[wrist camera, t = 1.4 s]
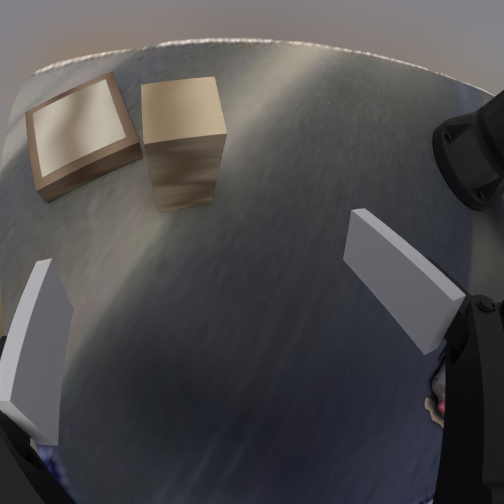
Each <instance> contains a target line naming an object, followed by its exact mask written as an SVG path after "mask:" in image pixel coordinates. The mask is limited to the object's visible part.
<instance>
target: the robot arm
mask: <svg viewBox="0 0 504 504" xmlns="http://www.w3.org/2000/svg"><path fill="white" fill-rule="evenodd" d="M433 147H434V152H435V156H436V159H437V162H438V165H439V167H440V169H441V171H442V173H443V175H444V177H445V179H446V181H447V182H448V184H449V186H450V187H451V188H452V190H453V191H454V192H455V194H456V195H457V196H458V197H459V198H460V199H461V200H462V201H463V202H464V203H465V204H466V205H468V206H469V207H471V208H473V209H475V210H484V209H486V208H488V207H490V206H492V205H494V204H495V203H496V202H497V201H498V200H499V199H500V198H501V197H502V196H503V195H504V90H503V91H502V92H501V93H499V94H498V95H497V96H495V97H494V98H493V99H491V100H490V101H489V102H487V103H486V104H485V105H484V106H482V107H481V108H480V109H479V110H477V111H476V112H473V113H469V114H466V115H462V116H458V117H455V118H451V119H448V120H446V121H445V122H443V123H442V124H441V125H440V126H438V127H437V128H436V130H435V132H434V135H433ZM343 260H344V261H345V262H346V263H347V264H348V266H349V267H350V268H351V269H352V270H353V271H354V272H355V273H356V274H357V276H358V277H359V278H360V279H361V280H362V281H363V282H364V283H365V285H366V286H367V287H368V288H369V289H370V290H371V291H372V293H373V294H374V295H375V296H376V297H377V298H378V300H379V301H380V302H381V303H382V304H383V305H384V307H385V308H386V309H387V310H388V311H389V312H390V314H391V315H392V316H393V317H394V318H395V320H396V321H397V322H398V323H399V324H400V326H401V327H402V328H403V329H404V330H405V332H406V333H407V334H408V335H409V336H410V338H411V339H412V340H413V341H414V343H415V344H416V345H417V346H418V348H419V349H420V350H421V351H422V353H423V354H424V355H426V354H428V353H430V352H432V351H433V350H435V349H437V348H438V347H439V345H440V343H441V341H442V340H443V338H445V339H446V341H447V344H446V346H445V347H444V349H443V351H442V352H441V354H440V356H439V357H438V361H437V362H440V361H441V359H442V358H443V356H445V360H444V361H443V363H445V411H444V427H443V438H442V448H441V457H440V464H439V471H438V477H437V483H436V489H435V494H434V499H433V503H432V504H504V300H503V302H501V303H494V302H493V301H492V300H491V299H489V298H488V297H486V296H483V295H474V296H471V295H470V294H469V293H468V292H467V291H466V290H465V289H464V288H463V287H462V286H461V285H460V284H459V283H458V282H456V281H455V280H454V279H453V278H452V277H451V276H449V275H448V273H447V272H446V271H444V270H442V268H441V267H440V266H439V265H438V264H437V263H435V262H434V261H433V260H431V259H429V258H427V257H425V256H423V255H421V254H420V253H419V252H418V251H417V250H416V249H414V248H413V247H412V246H411V245H410V244H409V243H407V242H406V241H405V240H404V239H403V238H401V237H400V236H399V235H398V234H396V233H395V232H394V231H393V230H392V229H390V228H389V227H388V226H387V225H385V224H384V223H383V222H382V221H380V220H379V219H378V218H376V217H375V216H374V215H373V214H371V213H370V212H369V211H367V210H366V209H365V208H363V209H355V210H351V216H350V223H349V229H348V235H347V241H346V246H345V252H344V257H343ZM72 314H73V307H72V305H71V303H70V301H69V298H68V296H67V294H66V292H65V289H64V287H63V285H62V282H61V280H60V278H59V275H58V273H57V270H56V268H55V265H54V263H53V260H52V259H47V260H42V261H37V262H36V264H35V267H34V269H33V271H32V273H31V276H30V278H29V280H28V283H27V285H26V287H25V290H24V292H23V295H22V297H21V300H20V302H19V305H18V308H17V310H16V313H15V316H14V319H13V321H12V324H11V327H10V330H9V333H8V336H2V337H1V339H0V504H76V503H75V502H74V500H73V499H72V498H71V497H70V496H69V495H68V493H67V492H66V491H65V490H64V489H63V487H62V486H61V485H60V484H59V482H58V481H57V480H56V479H55V477H54V476H53V475H52V474H51V472H50V471H49V470H48V468H47V467H46V465H45V464H44V463H43V461H42V460H41V459H40V457H39V456H38V454H37V453H36V451H35V450H34V449H33V448H32V447H31V446H30V437H31V438H32V439H33V440H35V441H36V442H37V443H38V444H40V445H58V429H59V410H60V397H61V387H62V377H63V369H64V361H65V354H66V348H67V341H68V335H69V330H70V324H71V319H72Z"/></svg>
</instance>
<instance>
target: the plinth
mask: <svg viewBox="0 0 504 504" xmlns="http://www.w3.org/2000/svg"><path fill="white" fill-rule="evenodd" d="M25 116H26V127H27V136H28V145H29V152H30V159H31V165H32V172H33V177H34V183H35V188H36V192H37V193H38V194H39V195H40V196H41V197H42V198H43V199H44V200H46V201H47V202H48V203H49V202H50V201H52V200H54V199H56V198H58V197H60V196H62V195H64V194H66V193H67V192H69V191H71V190H73V189H75V188H77V187H79V186H81V185H83V184H85V183H87V182H89V181H92V180H94V179H96V178H98V177H100V176H102V175H104V174H106V173H109V172H111V171H113V170H115V169H117V168H120V167H122V166H124V165H127V164H129V163H131V162H134V161H136V160H138V159H141V158H143V156H142V152H141V148H140V143H139V140H138V138H137V135H136V133H135V130H134V128H133V125H132V122H131V120H130V117H129V115H128V112H127V109H126V107H125V104H124V102H123V99H122V96H121V93H120V91H119V88H118V85H117V83H116V80H115V77H114V74H113V72H111V73H108V74H105V75H103V76H100V77H98V78H95V79H93V80H91V81H88V82H86V83H84V84H81V85H79V86H77V87H75V88H72V89H70V90H68V91H66V92H64V93H62V94H60V95H58V96H56V97H53V98H52V99H50V100H48V101H46V102H44V103H42V104H40V105H38V106H36V107H34V108H33V109H31V110H29V111H27V112H25Z"/></svg>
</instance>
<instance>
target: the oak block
mask: <svg viewBox="0 0 504 504" xmlns="http://www.w3.org/2000/svg"><path fill="white" fill-rule="evenodd" d="M141 94H142V120H143V137H144V147H145V152H146V156H147V161H148V166H149V170H150V174H151V179H152V183H153V187H154V192H155V196H156V200H157V204H158V208H159V212H165V211H171V210H177V209H183V208H189V207H196V206H202V205H209V204H212V199H213V195H214V190H215V185H216V180H217V176H218V171H219V167H220V162H221V158H222V153H223V149H224V144H225V140H226V136H227V131H226V126H225V122H224V117H223V113H222V109H221V104H220V100H219V95H218V91H217V86H216V82H215V77H205V78H193V79H183V80H174V81H166V82H158V83H151V84H145V85H141Z"/></svg>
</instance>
